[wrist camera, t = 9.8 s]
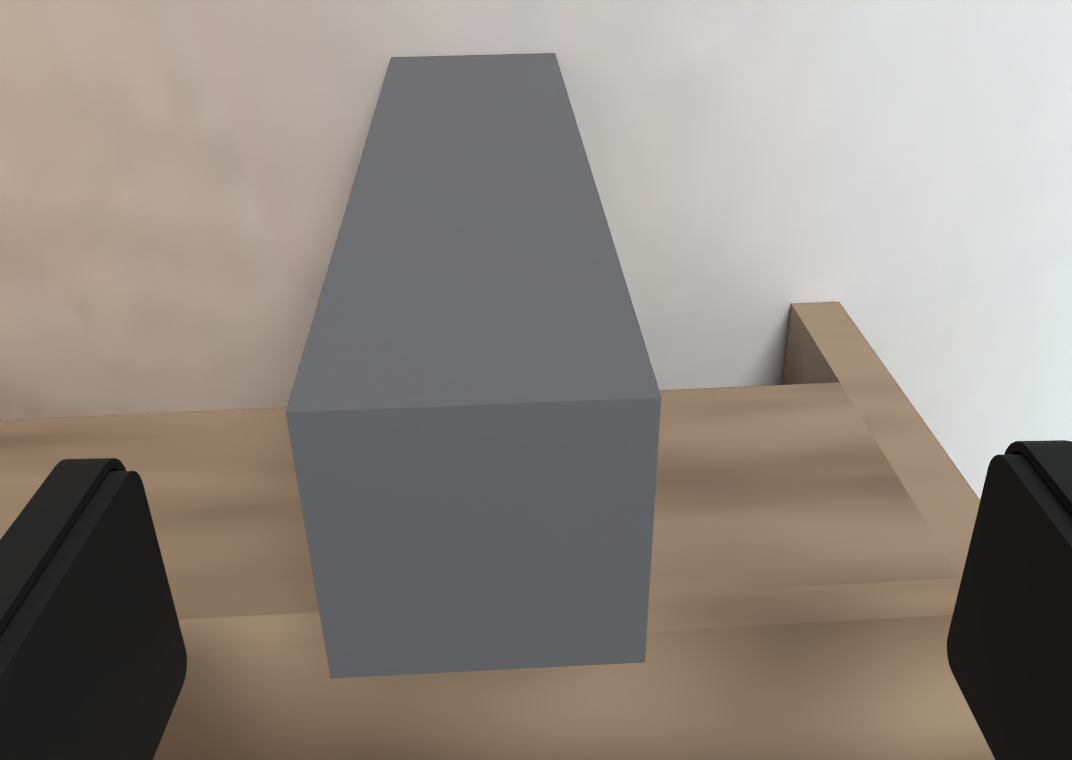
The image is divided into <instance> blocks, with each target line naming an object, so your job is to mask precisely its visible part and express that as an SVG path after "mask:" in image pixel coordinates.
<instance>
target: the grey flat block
mask: <svg viewBox="0 0 1072 760" xmlns="http://www.w3.org/2000/svg"><path fill="white" fill-rule="evenodd" d="M660 410H661V395H660V392H659V389H658V385H657V382H656V379H655V376H654V372H653V369H652V366H651V363H650V360H649V356H648V353H647V350H646V347H645V343H644V340H643V337H642V334H641V330H640V327H639V324H638V321H637V317H636V314H635V311H634V308H633V305H632V301H631V298H630V295H629V292H628V288H627V285H626V282H625V279H624V275H623V272H622V269H621V266H620V262H619V259H618V256H617V253H616V250H615V246H614V243H613V240H612V237H611V233H610V230H609V227H608V224H607V220H606V217H605V214H604V211H603V207H602V204H601V201H600V198H599V194H598V191H597V188H596V185H595V182H594V178H593V175H592V172H591V169H590V165H589V162H588V159H587V156H586V152H585V149H584V146H583V143H582V139H581V136H580V133H579V130H578V127H577V123H576V120H575V117H574V114H573V110H572V107H571V104H570V101H569V97H568V94H567V91H566V88H565V84H564V81H563V78H562V75H561V72H560V68H559V65H558V62H557V59H556V55H555V53H545V54H507V55H468V56H429V57H391V59H390V63H389V66H388V70H387V73H386V76H385V80H384V83H383V86H382V90H381V93H380V97H379V100H378V103H377V107H376V110H375V113H374V117H373V120H372V123H371V127H370V130H369V134H368V137H367V140H366V144H365V147H364V150H363V154H362V157H361V160H360V164H359V167H358V171H357V174H356V177H355V181H354V184H353V187H352V191H351V194H350V198H349V201H348V204H347V208H346V211H345V214H344V218H343V221H342V224H341V228H340V231H339V235H338V238H337V241H336V245H335V248H334V251H333V255H332V258H331V262H330V265H329V268H328V272H327V275H326V278H325V282H324V285H323V288H322V292H321V295H320V299H319V302H318V305H317V309H316V312H315V315H314V319H313V322H312V325H311V329H310V332H309V336H308V339H307V342H306V346H305V349H304V352H303V356H302V359H301V363H300V366H299V369H298V373H297V376H296V379H295V383H294V386H293V389H292V393H291V396H290V400H289V403H288V406H287V410H286V418H287V424H288V430H289V436H290V441H291V447H292V453H293V459H294V465H295V471H296V477H297V483H298V489H299V495H300V501H301V507H302V512H303V518H304V524H305V530H306V536H307V542H308V548H309V554H310V560H311V566H312V572H313V577H314V583H315V589H316V595H317V601H318V607H319V613H320V619H321V625H322V631H323V637H324V643H325V648H326V654H327V660H328V666H329V672H330V678H331V679H332V678H351V677H371V676H390V675H410V674H429V673H449V672H468V671H488V670H508V669H527V668H547V667H566V666H586V665H605V664H625V663H644V662H645V654H646V638H647V621H648V605H649V589H650V572H651V556H652V540H653V524H654V507H655V491H656V475H657V458H658V442H659V426H660Z"/></svg>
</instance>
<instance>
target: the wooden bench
mask: <svg viewBox="0 0 1072 760" xmlns="http://www.w3.org/2000/svg"><path fill="white" fill-rule="evenodd" d="M659 392H660V395H661V410H660V426H659V442H658V458H657V475H656V491H655V507H654V524H653V540H652V556H651V572H650V589H649V605H648V621H647V638H646V654H645V662H644V663H625V664H605V665H586V666H566V667H547V668H527V669H508V670H488V671H468V672H449V673H429V674H410V675H390V676H371V677H351V678H332V679H331V678H330V672H329V666H328V660H327V654H326V648H325V643H324V637H323V631H322V625H321V619H320V613H319V607H318V601H317V595H316V589H315V583H314V577H313V572H312V566H311V560H310V554H309V548H308V542H307V536H306V530H305V524H304V518H303V512H302V507H301V501H300V495H299V489H298V483H297V477H296V471H295V465H294V459H293V453H292V447H291V441H290V436H289V430H288V424H287V418H286V410H287V407H286V408H264V409H242V410H220V411H198V412H176V413H153V414H131V415H109V416H87V417H65V418H43V419H21V420H0V539H1V538H2V537H3V535H4V534H5V533H6V531H7V530H8V529H9V527H10V526H11V525H12V523H13V522H14V521H15V519H16V518H17V517H18V515H19V514H20V513H21V511H22V510H23V509H24V507H25V506H26V505H27V503H28V502H29V501H30V499H31V498H32V497H33V495H34V494H35V493H36V491H37V490H38V489H39V487H40V486H41V485H42V483H43V482H44V480H45V479H46V478H47V476H48V475H49V474H50V472H51V471H52V470H53V468H54V467H55V466H56V465H57V464H58V463H59V462H60V461H61V460H65V459H90V458H116V459H118V460H120V461H121V462H122V463H123V465H124V466H125V469H126V471H135V472H138V474H139V475H140V477H141V479H142V482H143V485H144V489H145V493H146V497H147V501H148V505H149V508H150V512H151V516H152V520H153V524H154V528H155V532H156V536H157V539H158V543H159V547H160V551H161V555H162V559H163V563H164V567H165V571H166V574H167V578H168V582H169V586H170V590H171V594H172V598H173V602H174V605H175V609H176V613H177V617H178V621H179V625H180V629H181V633H182V636H183V640H184V644H185V648H186V654H187V670H186V676H185V681H184V684H183V687H182V689H181V692H180V694H179V697H178V699H177V702H176V704H175V707H174V709H173V711H172V714H171V716H170V719H169V721H168V724H167V726H166V729H165V731H164V734H163V736H162V738H161V741H160V743H159V746H158V748H157V751H156V753H155V756H154V758H153V760H995V758H994V756H993V754H992V752H991V750H990V748H989V746H988V744H987V742H986V740H985V738H984V736H983V734H982V732H981V730H980V728H979V726H978V724H977V722H976V720H975V718H974V716H973V714H972V712H971V710H970V708H969V706H968V704H967V702H966V700H965V698H964V696H963V694H962V692H961V690H960V688H959V686H958V684H957V682H956V680H955V678H954V676H953V674H952V671H951V668H950V666H949V661H948V656H947V637H948V632H949V628H950V624H951V620H952V616H953V612H954V607H955V603H956V599H957V595H958V591H959V587H960V583H961V578H962V574H963V570H964V566H965V562H966V558H967V554H968V550H969V545H970V541H971V537H972V533H973V529H974V525H975V521H976V516H977V512H978V508H979V504H980V500H979V498H978V497H977V495H976V494H975V492H974V491H973V490H972V488H971V487H970V485H969V484H968V483H967V481H966V480H965V478H964V477H963V476H962V474H961V473H960V471H959V470H958V469H957V467H956V466H955V464H954V463H953V461H952V460H951V459H950V457H949V456H948V454H947V453H946V452H945V450H944V449H943V447H942V446H941V445H940V443H939V442H938V440H937V439H936V438H935V436H934V435H933V433H932V432H931V430H930V429H929V428H928V426H927V425H926V423H925V422H924V421H923V419H922V418H921V416H920V415H919V414H918V412H917V411H916V409H915V408H914V407H913V405H912V404H911V402H910V401H909V399H908V398H907V397H906V395H905V394H904V392H903V391H902V390H901V388H900V387H899V385H898V384H897V383H896V381H895V380H894V378H893V377H892V376H891V374H890V373H889V371H888V370H887V368H886V367H885V366H884V364H883V363H882V361H881V360H880V359H879V357H878V356H877V354H876V353H875V352H874V350H873V349H872V347H871V346H870V345H869V343H868V342H867V340H866V339H865V338H864V336H863V335H862V333H861V332H860V330H859V329H858V328H857V326H856V325H855V323H854V322H853V321H852V319H851V318H850V316H849V315H848V314H847V312H846V311H845V309H844V308H843V307H842V305H841V304H840V302H823V303H799V304H792V305H791V313H790V321H789V329H788V337H787V344H786V352H785V360H784V368H783V376H782V384H781V385H770V386H748V387H726V388H704V389H682V390H660V391H659Z"/></svg>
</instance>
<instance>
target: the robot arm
mask: <svg viewBox="0 0 1072 760" xmlns="http://www.w3.org/2000/svg"><path fill="white" fill-rule="evenodd" d="M947 656H948V661H949V666H950V668H951V671H952V674H953V676H954V678H955V680H956V682H957V684H958V686H959V688H960V690H961V692H962V694H963V696H964V698H965V700H966V702H967V704H968V706H969V708H970V710H971V712H972V714H973V716H974V718H975V720H976V722H977V724H978V726H979V728H980V730H981V732H982V734H983V736H984V738H985V740H986V742H987V744H988V746H989V748H990V750H991V752H992V754H993V756H994V758H995V760H1072V442H1071V441H1065V440H1062V441H1016V442H1014V443H1012V444H1010V446H1009V447H1008V448H1007V450H1006V452H1005V455H996V456H994V457H993V459H992V460H991V461H990V464H989V467H988V471H987V475H986V479H985V483H984V487H983V492H982V496H981V500H980V504H979V508H978V512H977V516H976V521H975V525H974V529H973V533H972V537H971V541H970V545H969V550H968V554H967V558H966V562H965V566H964V570H963V574H962V578H961V583H960V587H959V591H958V595H957V599H956V603H955V607H954V612H953V616H952V620H951V624H950V628H949V632H948V637H947ZM186 670H187V654H186V648H185V644H184V640H183V636H182V633H181V629H180V625H179V621H178V617H177V613H176V609H175V605H174V602H173V598H172V594H171V590H170V586H169V582H168V578H167V574H166V571H165V567H164V563H163V559H162V555H161V551H160V547H159V543H158V539H157V536H156V532H155V528H154V524H153V520H152V516H151V512H150V508H149V505H148V501H147V497H146V493H145V489H144V485H143V482H142V479H141V477H140V475H139V474H138V472H135V471H126V469H125V466H124V465H123V463H122V462H121V461H120V460H118V459H116V458H90V459H65V460H61V461H60V462H59V463H58V464H57V465H56V466H55V467H54V468H53V470H52V471H51V472H50V474H49V475H48V476H47V478H46V479H45V480H44V482H43V483H42V485H41V486H40V487H39V489H38V490H37V491H36V493H35V494H34V495H33V497H32V498H31V499H30V501H29V502H28V503H27V505H26V506H25V507H24V509H23V510H22V511H21V513H20V514H19V515H18V517H17V518H16V519H15V521H14V522H13V523H12V525H11V526H10V527H9V529H8V530H7V531H6V533H5V534H4V535H3V537H2V538H1V539H0V760H153V758H154V756H155V753H156V751H157V748H158V746H159V743H160V741H161V738H162V736H163V734H164V731H165V729H166V726H167V724H168V721H169V719H170V716H171V714H172V711H173V709H174V707H175V704H176V702H177V699H178V697H179V694H180V692H181V689H182V687H183V684H184V681H185V676H186Z"/></svg>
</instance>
